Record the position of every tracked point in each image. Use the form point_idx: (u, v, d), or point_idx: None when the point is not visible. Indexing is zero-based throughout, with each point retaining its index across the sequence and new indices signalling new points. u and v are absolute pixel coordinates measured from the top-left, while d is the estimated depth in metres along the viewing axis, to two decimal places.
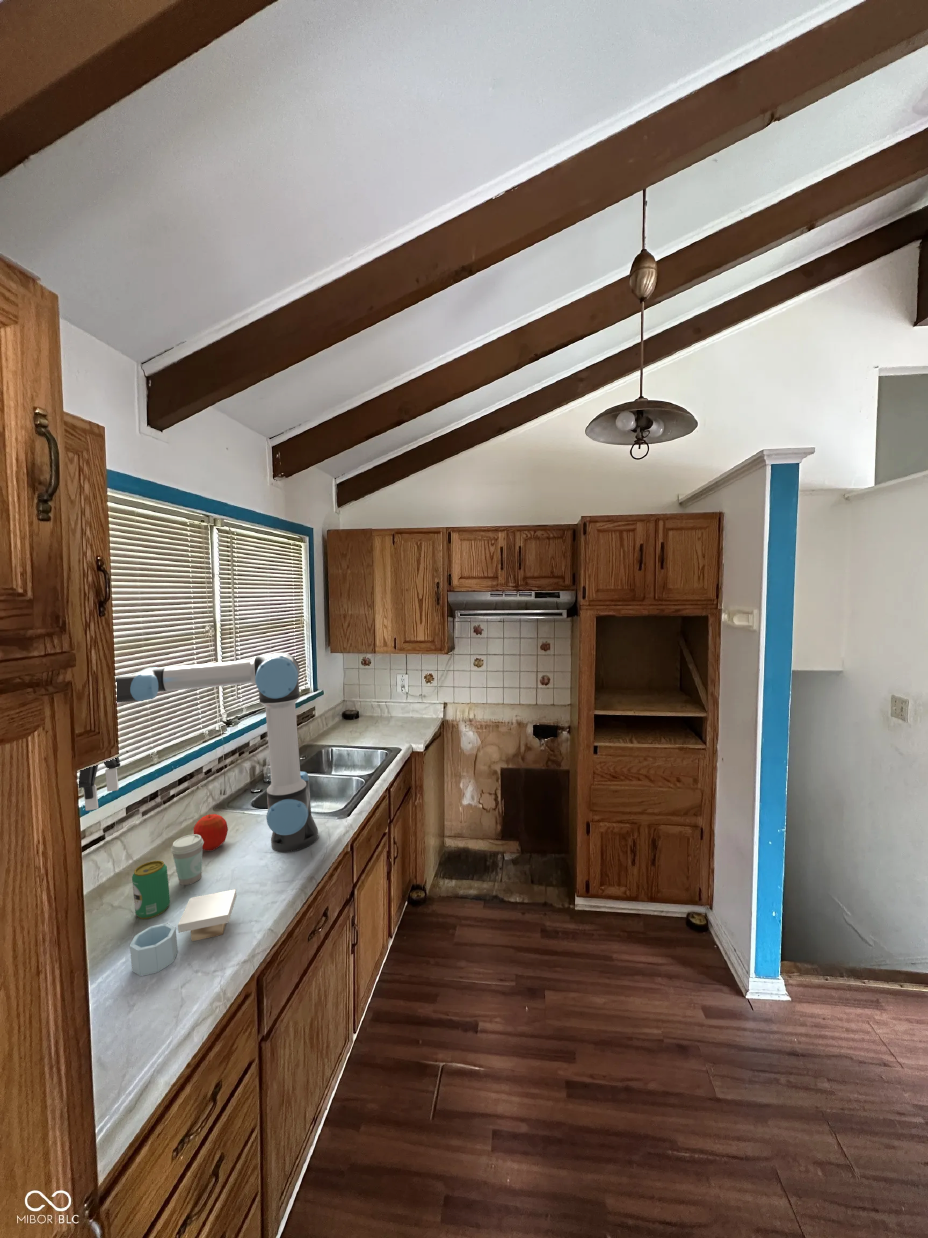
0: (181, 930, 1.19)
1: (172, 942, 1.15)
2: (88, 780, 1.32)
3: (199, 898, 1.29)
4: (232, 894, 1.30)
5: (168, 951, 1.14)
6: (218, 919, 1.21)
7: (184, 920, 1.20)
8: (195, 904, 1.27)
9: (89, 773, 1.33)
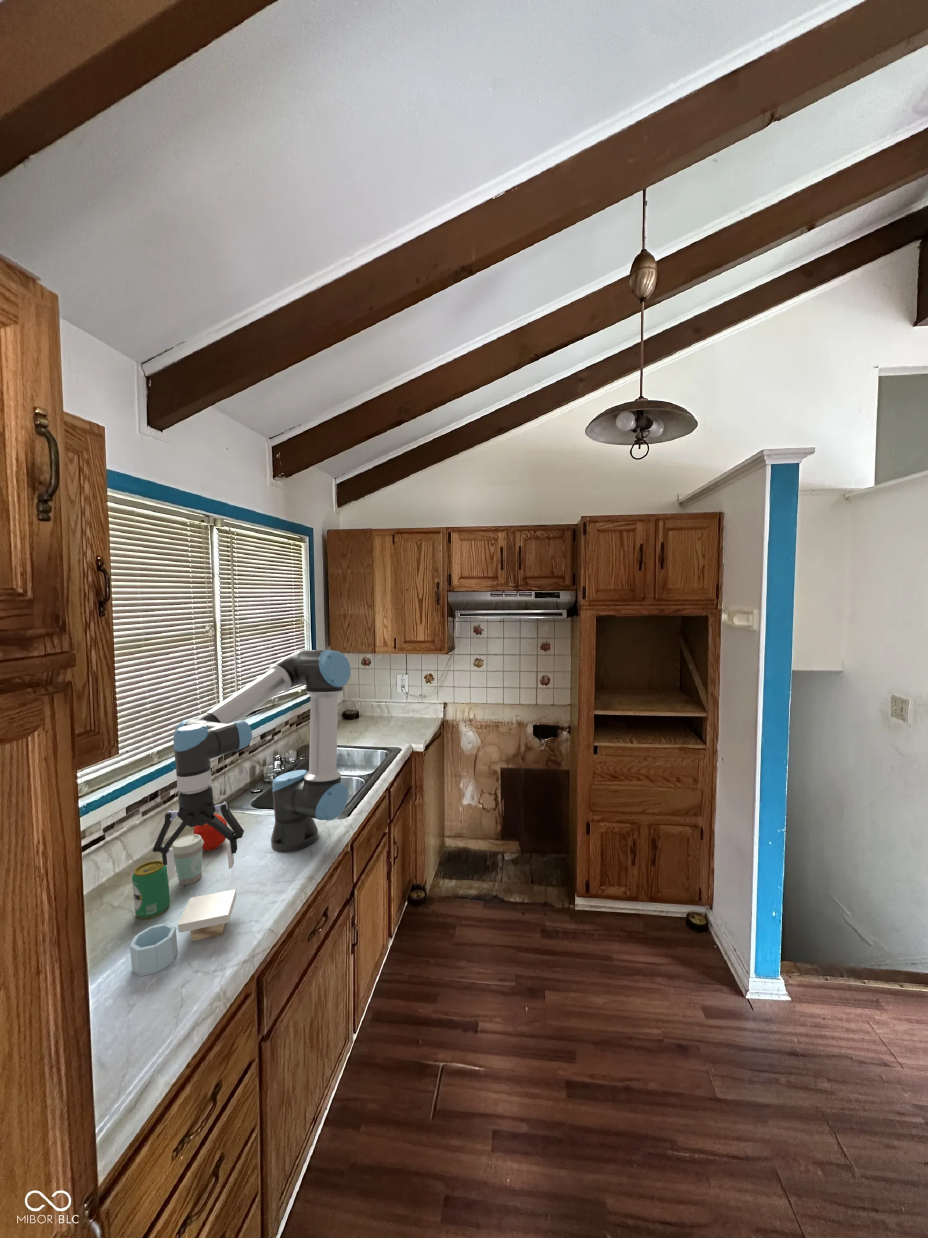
0: (181, 930, 1.19)
1: (172, 942, 1.15)
2: (154, 845, 1.21)
3: (199, 898, 1.29)
4: (232, 894, 1.30)
5: (168, 951, 1.14)
6: (218, 919, 1.21)
7: (184, 920, 1.20)
8: (195, 904, 1.27)
9: (158, 838, 1.21)
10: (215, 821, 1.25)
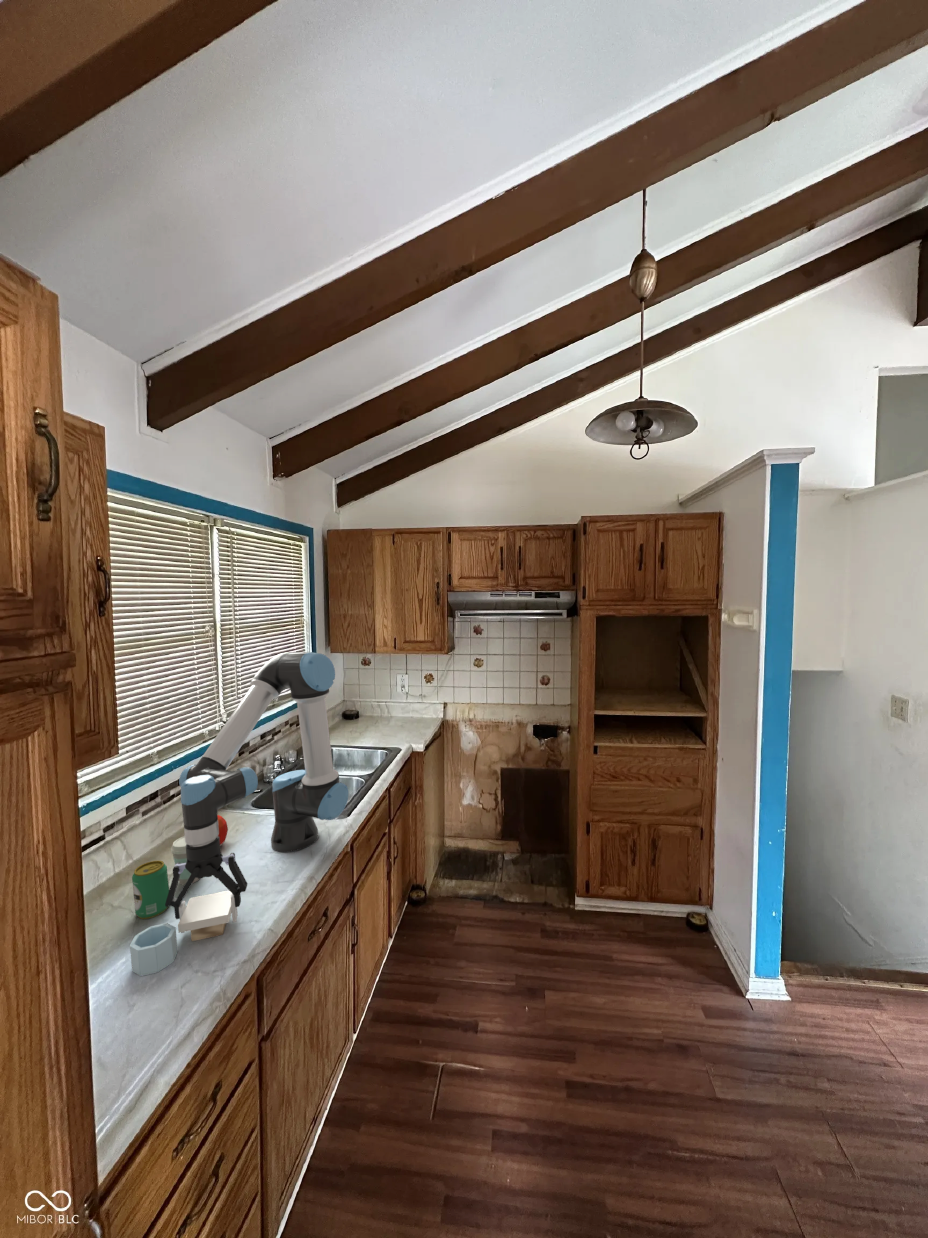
0: (181, 930, 1.19)
1: (172, 942, 1.15)
2: (166, 900, 1.22)
3: (199, 898, 1.29)
4: None
5: (168, 951, 1.14)
6: (218, 919, 1.21)
7: (184, 920, 1.20)
8: (195, 904, 1.27)
9: (168, 893, 1.22)
10: (221, 873, 1.25)
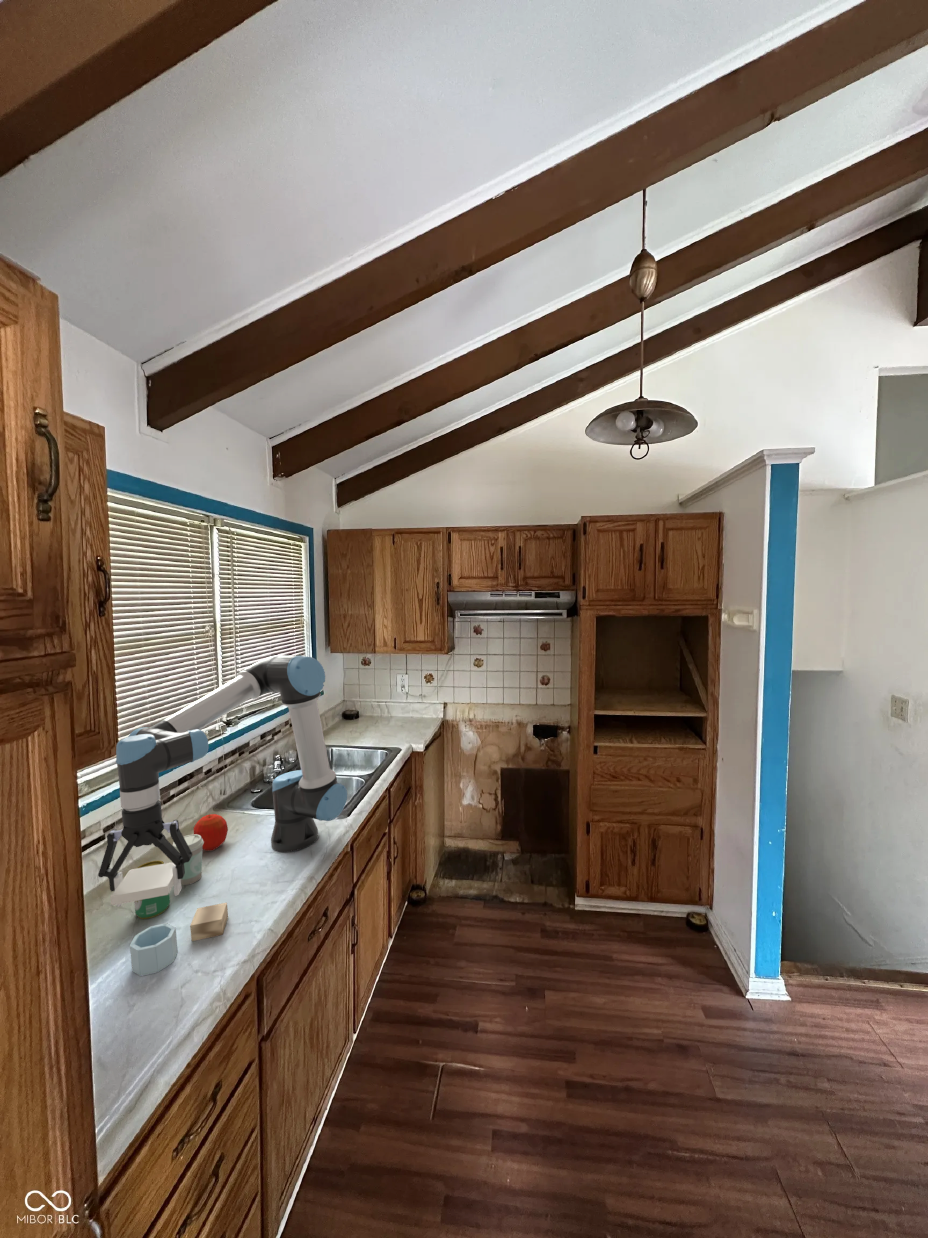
0: (114, 902, 1.08)
1: (172, 942, 1.15)
2: (100, 870, 1.11)
3: (140, 869, 1.18)
4: None
5: (168, 951, 1.14)
6: (156, 891, 1.10)
7: (118, 891, 1.09)
8: (134, 876, 1.16)
9: (102, 862, 1.11)
10: (162, 842, 1.14)
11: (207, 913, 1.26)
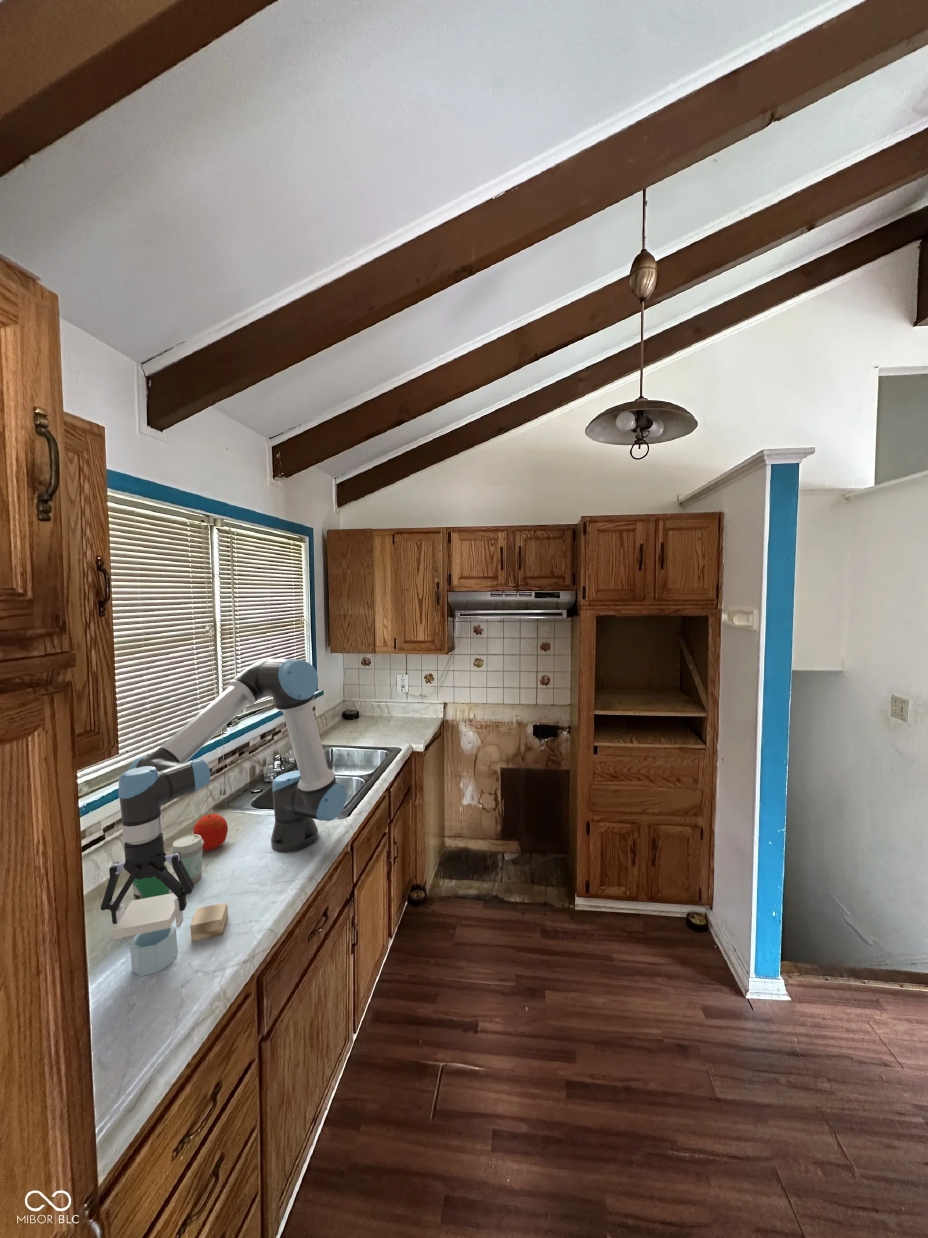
0: (116, 936, 1.08)
1: (172, 942, 1.15)
2: None
3: (142, 901, 1.18)
4: None
5: (168, 951, 1.14)
6: (158, 924, 1.10)
7: (120, 925, 1.10)
8: (136, 907, 1.16)
9: (105, 895, 1.11)
10: (164, 874, 1.15)
11: (207, 913, 1.26)
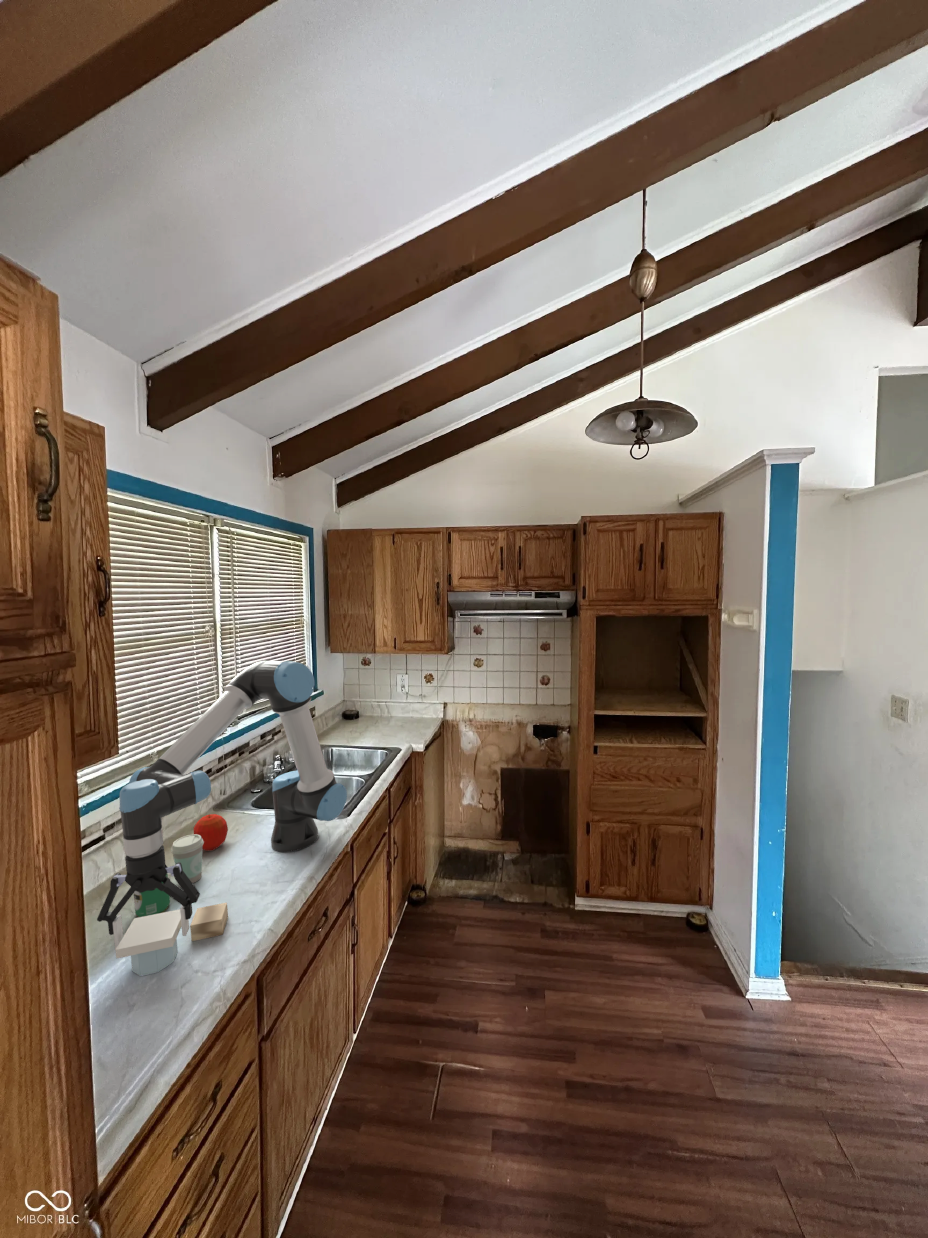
0: (119, 955, 1.09)
1: None
2: (99, 914, 1.11)
3: (144, 918, 1.19)
4: (180, 914, 1.20)
5: (168, 951, 1.14)
6: (160, 943, 1.11)
7: (123, 944, 1.10)
8: (139, 926, 1.16)
9: (103, 906, 1.11)
10: (167, 885, 1.15)
11: (207, 913, 1.26)
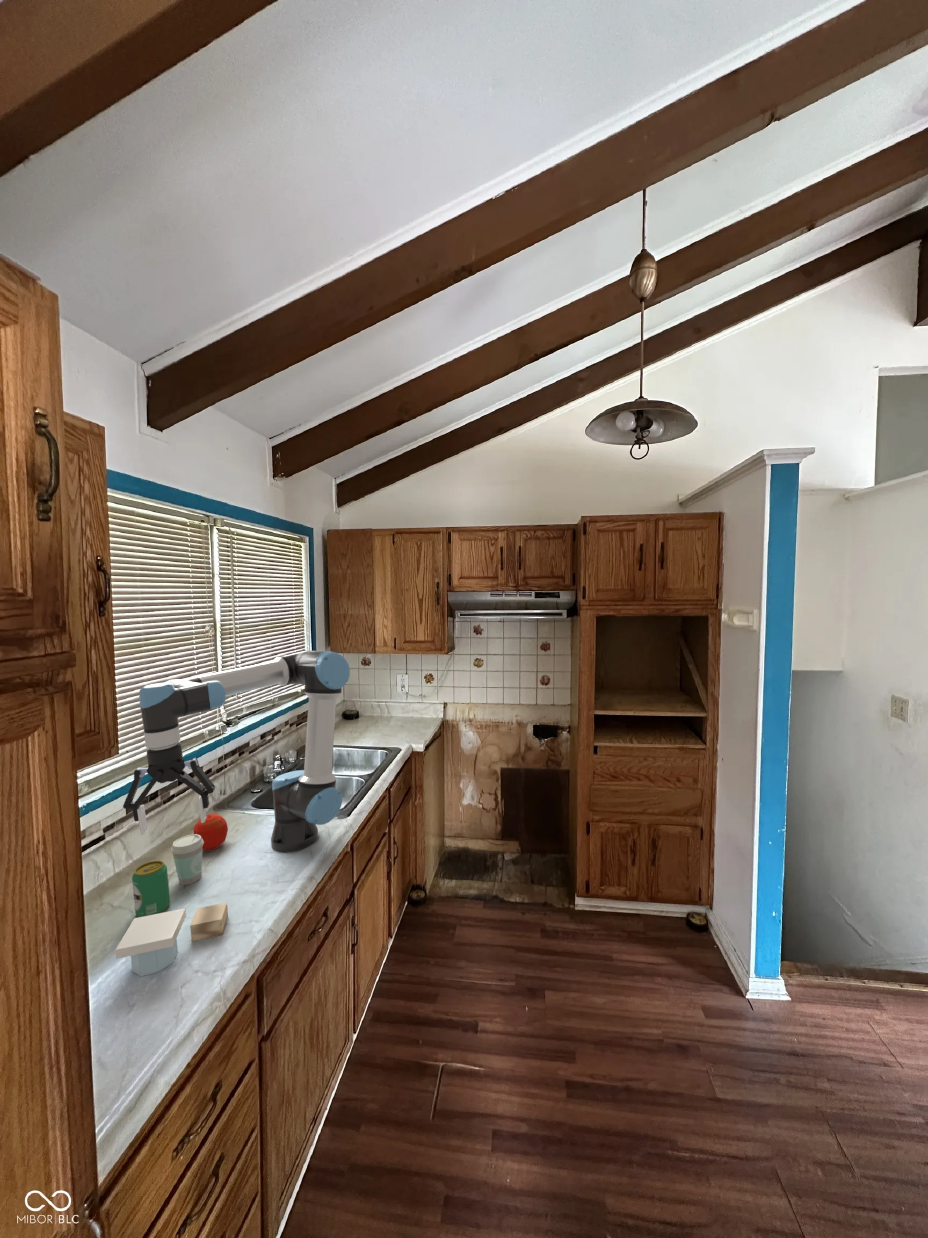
0: (119, 955, 1.09)
1: None
2: (125, 802, 1.23)
3: (144, 918, 1.19)
4: (180, 914, 1.20)
5: (168, 951, 1.14)
6: (160, 943, 1.11)
7: (123, 944, 1.10)
8: (139, 926, 1.16)
9: (128, 795, 1.23)
10: (185, 777, 1.26)
11: (207, 913, 1.26)
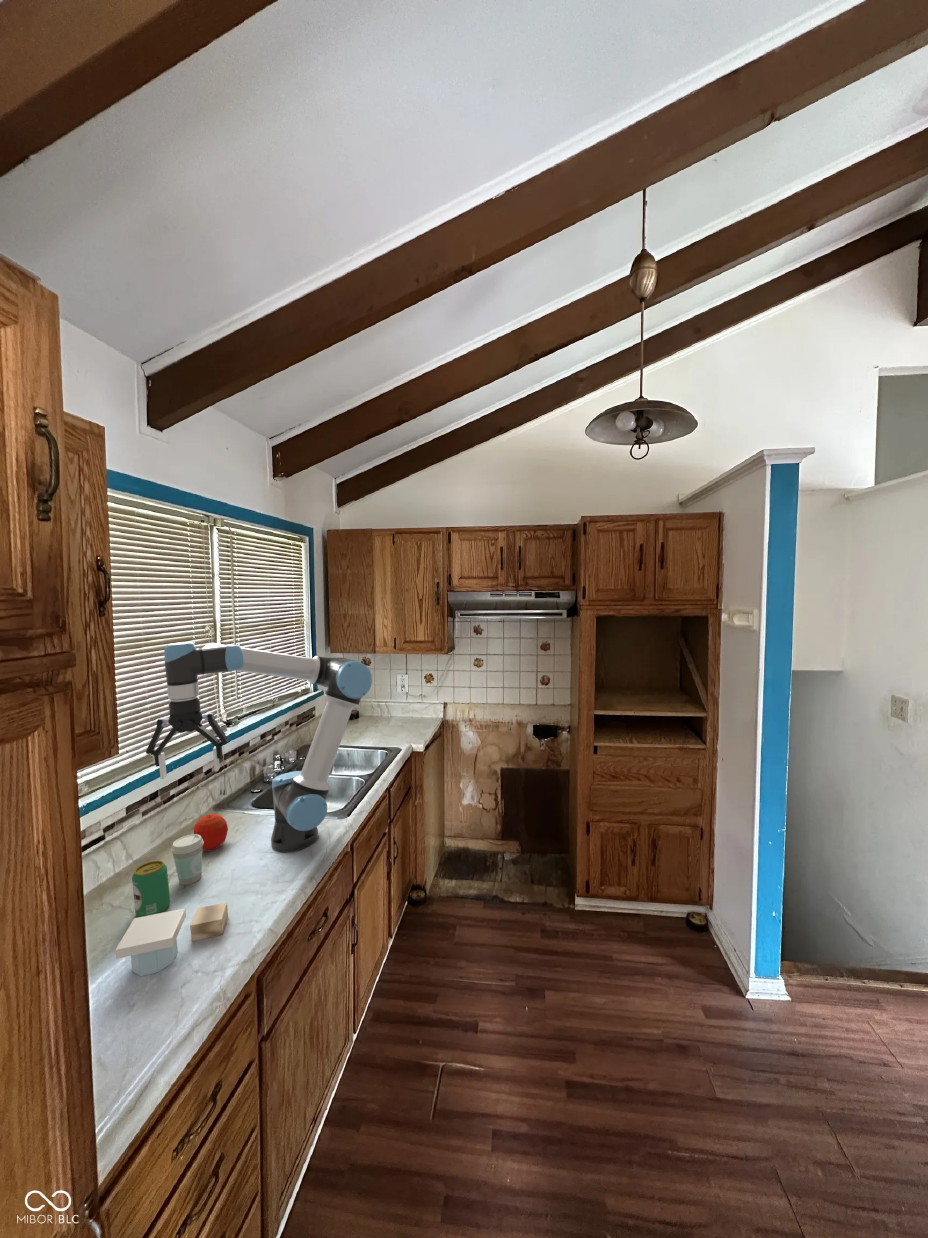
0: (119, 955, 1.09)
1: None
2: (147, 748, 1.36)
3: (144, 918, 1.19)
4: (180, 914, 1.20)
5: (168, 951, 1.14)
6: (160, 943, 1.11)
7: (123, 944, 1.10)
8: (139, 926, 1.16)
9: (150, 741, 1.36)
10: (202, 728, 1.39)
11: (207, 913, 1.26)
